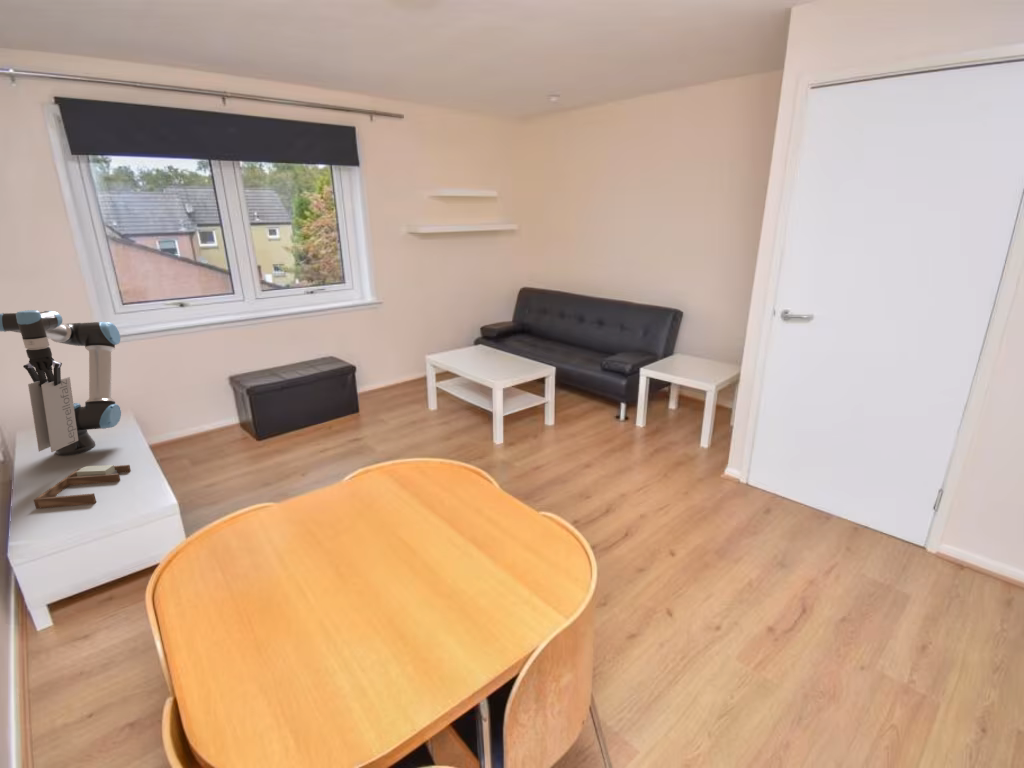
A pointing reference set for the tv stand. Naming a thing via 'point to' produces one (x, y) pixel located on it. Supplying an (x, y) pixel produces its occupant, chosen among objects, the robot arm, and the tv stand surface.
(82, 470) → the offcut upper
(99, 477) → the rack
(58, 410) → the brochure
